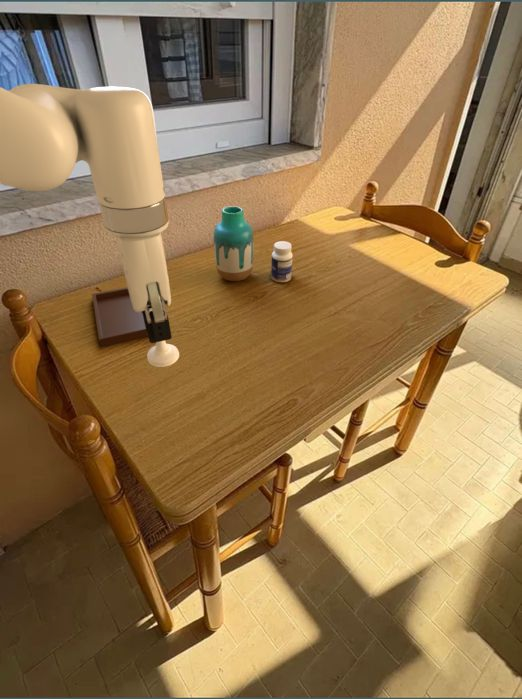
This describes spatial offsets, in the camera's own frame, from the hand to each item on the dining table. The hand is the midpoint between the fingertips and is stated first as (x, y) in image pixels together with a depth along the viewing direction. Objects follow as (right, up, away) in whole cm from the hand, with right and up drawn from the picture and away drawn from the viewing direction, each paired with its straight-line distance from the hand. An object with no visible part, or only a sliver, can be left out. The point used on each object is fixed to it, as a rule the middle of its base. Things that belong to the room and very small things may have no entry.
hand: (158, 333), depth 57 cm
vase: (+8, +18, +50) cm, 53 cm away
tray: (-17, +6, +35) cm, 40 cm away
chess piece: (0, -4, +3) cm, 5 cm away
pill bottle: (+21, +18, +50) cm, 57 cm away
